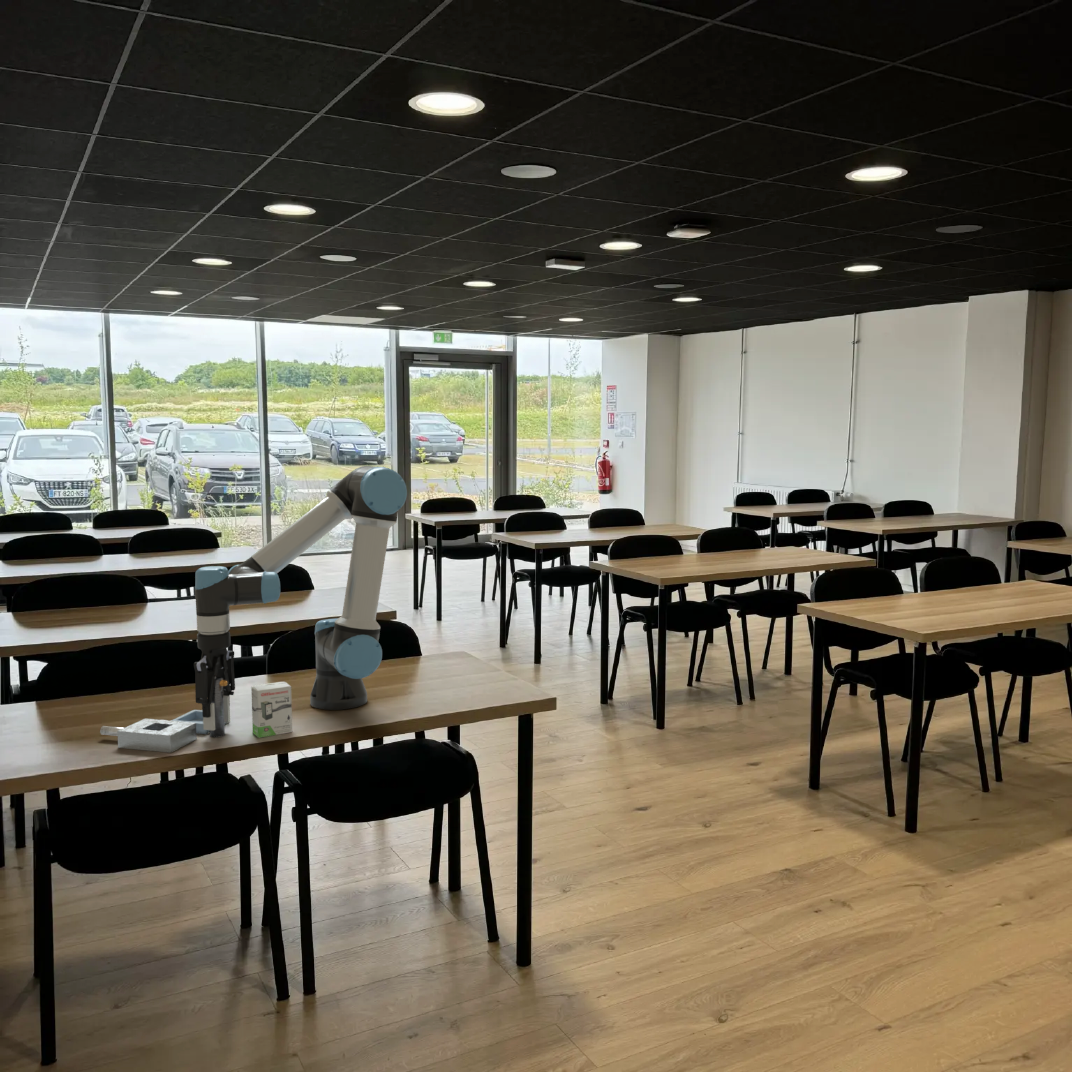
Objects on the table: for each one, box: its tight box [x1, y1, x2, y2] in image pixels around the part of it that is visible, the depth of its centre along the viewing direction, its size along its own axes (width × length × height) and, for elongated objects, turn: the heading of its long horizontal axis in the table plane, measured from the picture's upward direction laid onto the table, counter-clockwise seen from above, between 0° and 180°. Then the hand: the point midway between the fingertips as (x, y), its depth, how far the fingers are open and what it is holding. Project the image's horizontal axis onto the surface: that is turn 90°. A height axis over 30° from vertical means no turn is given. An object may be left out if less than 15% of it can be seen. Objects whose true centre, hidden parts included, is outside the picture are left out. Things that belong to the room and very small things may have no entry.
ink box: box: [250, 681, 293, 739], centre depth 232 cm, size 9×5×12 cm, turn 123°
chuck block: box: [99, 718, 198, 754], centre depth 225 cm, size 22×10×4 cm, turn 76°
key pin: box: [209, 676, 228, 738], centre depth 230 cm, size 6×3×14 cm, turn 76°
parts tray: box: [170, 709, 228, 735], centre depth 237 cm, size 10×10×2 cm
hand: (217, 725), depth 230 cm, fingers open, 6 cm apart
